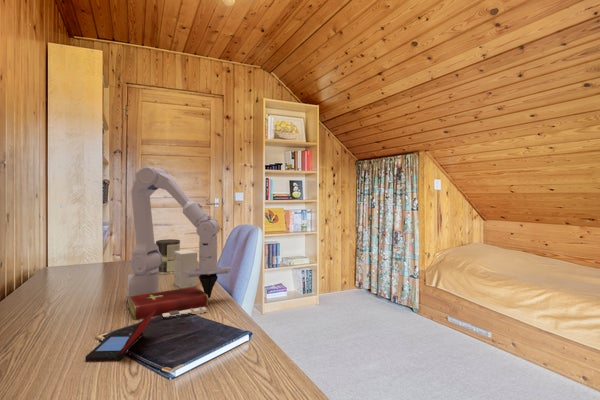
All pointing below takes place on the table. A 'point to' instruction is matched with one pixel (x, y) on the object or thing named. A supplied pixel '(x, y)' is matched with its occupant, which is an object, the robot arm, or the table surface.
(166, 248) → the coffee can
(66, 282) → the table surface
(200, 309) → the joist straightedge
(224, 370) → the table surface
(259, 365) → the table surface
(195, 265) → the small box
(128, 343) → the handheld game console
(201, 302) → the hardcover book
